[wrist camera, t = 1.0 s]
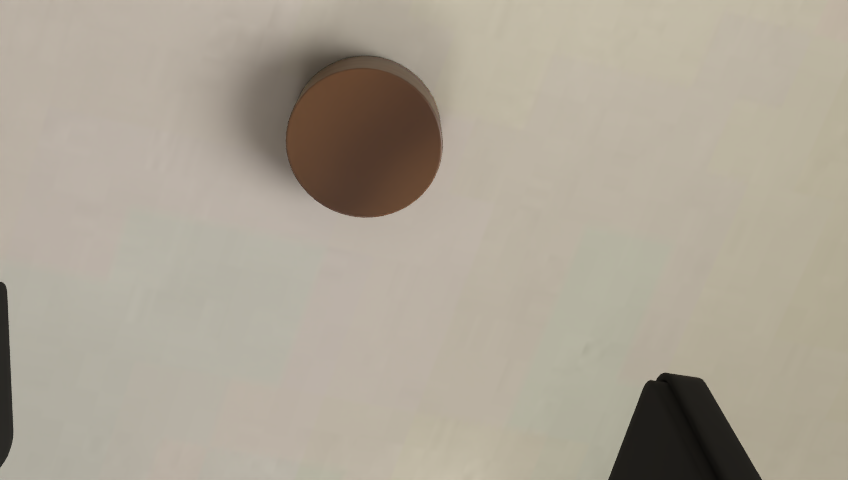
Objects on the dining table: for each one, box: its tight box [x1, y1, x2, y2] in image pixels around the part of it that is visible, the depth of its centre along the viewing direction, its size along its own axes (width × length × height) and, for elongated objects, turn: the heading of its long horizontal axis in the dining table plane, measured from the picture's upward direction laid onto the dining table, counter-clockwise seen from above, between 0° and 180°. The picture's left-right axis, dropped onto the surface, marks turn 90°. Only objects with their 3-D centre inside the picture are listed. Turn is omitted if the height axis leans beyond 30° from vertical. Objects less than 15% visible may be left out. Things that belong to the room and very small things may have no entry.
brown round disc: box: [286, 56, 443, 217], centre depth 25 cm, size 5×5×2 cm
